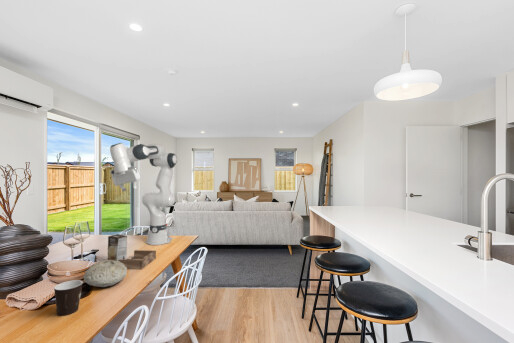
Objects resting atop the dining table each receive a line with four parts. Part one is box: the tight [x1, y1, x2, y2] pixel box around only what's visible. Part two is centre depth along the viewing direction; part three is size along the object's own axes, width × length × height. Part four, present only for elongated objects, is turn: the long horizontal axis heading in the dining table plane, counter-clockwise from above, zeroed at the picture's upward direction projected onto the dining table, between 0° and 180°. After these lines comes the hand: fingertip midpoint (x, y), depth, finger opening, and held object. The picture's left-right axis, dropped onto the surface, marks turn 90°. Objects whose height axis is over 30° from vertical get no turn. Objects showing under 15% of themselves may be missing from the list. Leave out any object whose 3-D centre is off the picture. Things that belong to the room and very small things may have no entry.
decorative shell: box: [83, 259, 128, 288], centre depth 118 cm, size 18×18×10 cm
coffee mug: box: [53, 279, 84, 317], centre depth 92 cm, size 12×9×10 cm
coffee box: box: [107, 233, 128, 261], centre depth 147 cm, size 9×6×16 cm
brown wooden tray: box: [118, 249, 157, 270], centre depth 146 cm, size 18×19×6 cm
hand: (129, 189), depth 155 cm, fingers open, 8 cm apart
